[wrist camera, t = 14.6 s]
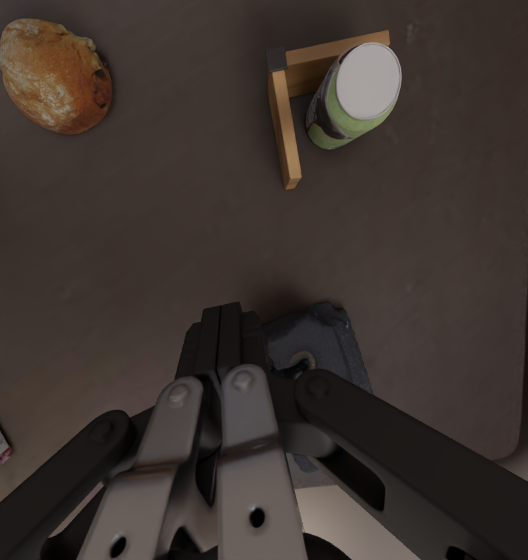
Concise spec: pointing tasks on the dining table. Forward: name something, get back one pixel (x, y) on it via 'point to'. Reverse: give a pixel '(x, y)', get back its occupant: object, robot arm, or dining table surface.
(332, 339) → the grommeted fabric pouch
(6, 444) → the snack box
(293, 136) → the shelf corner
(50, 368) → the dining table surface
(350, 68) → the beverage can
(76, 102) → the bread roll
